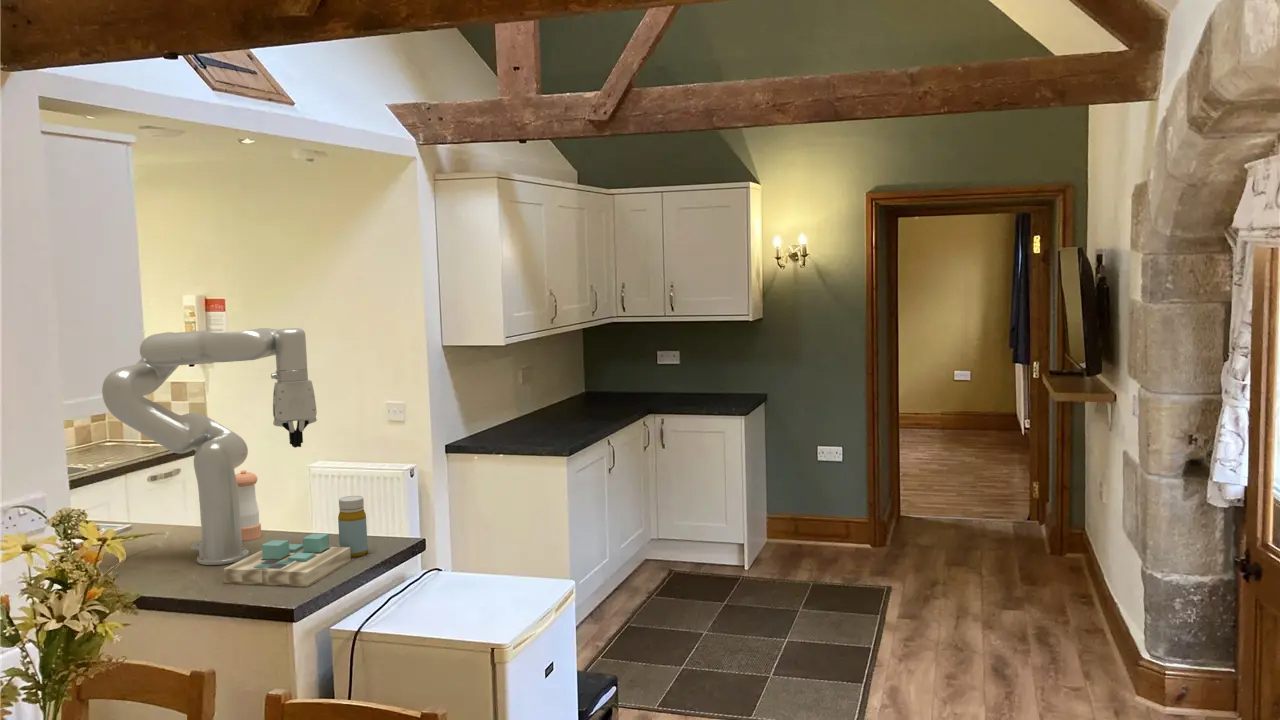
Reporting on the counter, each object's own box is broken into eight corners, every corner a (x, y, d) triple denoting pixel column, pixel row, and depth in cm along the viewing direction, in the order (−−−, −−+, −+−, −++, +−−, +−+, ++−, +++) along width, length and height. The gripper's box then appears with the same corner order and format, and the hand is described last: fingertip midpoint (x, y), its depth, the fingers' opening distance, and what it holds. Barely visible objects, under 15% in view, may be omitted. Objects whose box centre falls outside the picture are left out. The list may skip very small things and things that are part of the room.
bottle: (360, 558, 258) (357, 501, 257) (335, 557, 259) (332, 501, 258) (372, 551, 265) (369, 495, 263) (348, 550, 266) (345, 495, 265)
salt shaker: (265, 537, 282) (261, 470, 280) (239, 542, 277) (235, 474, 275) (255, 532, 287) (251, 466, 285) (229, 537, 282) (225, 470, 280)
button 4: (303, 551, 252) (302, 538, 252) (312, 546, 257) (312, 533, 257) (319, 552, 251) (319, 538, 251) (329, 547, 256) (328, 533, 256)
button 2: (279, 562, 254) (278, 548, 254) (288, 557, 259) (288, 543, 258) (295, 562, 253) (294, 549, 253) (305, 557, 258) (304, 544, 257)
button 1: (262, 558, 247) (261, 545, 247) (273, 553, 252) (272, 540, 251) (279, 559, 246) (278, 545, 246) (289, 554, 251) (288, 540, 250)
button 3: (288, 571, 246) (288, 557, 246) (298, 566, 250) (298, 552, 250) (305, 572, 245) (305, 558, 245) (315, 566, 249) (314, 553, 249)
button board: (224, 583, 240) (223, 567, 240) (273, 557, 261) (272, 542, 261) (307, 586, 236) (306, 570, 236) (350, 560, 256) (350, 545, 256)
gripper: (265, 380, 250) (270, 452, 252) (325, 375, 258) (329, 445, 260) (258, 377, 256) (263, 448, 258) (317, 372, 265) (321, 441, 266)
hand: (296, 446), depth 259 cm, fingers closed
